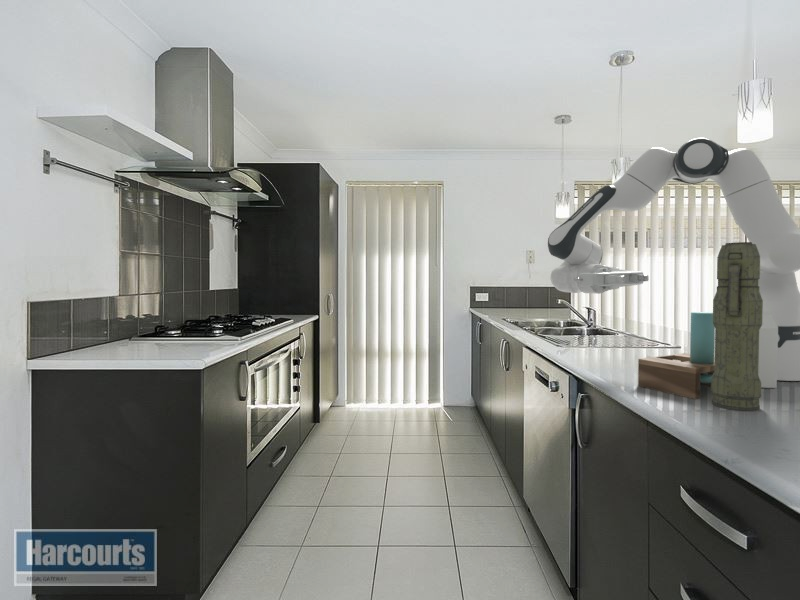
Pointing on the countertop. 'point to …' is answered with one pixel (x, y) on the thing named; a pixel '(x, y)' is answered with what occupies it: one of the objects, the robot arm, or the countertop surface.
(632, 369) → the countertop surface
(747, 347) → the thermos
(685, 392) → the keyhole bridge
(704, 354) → the teal necked cylinder
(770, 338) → the milk carton
